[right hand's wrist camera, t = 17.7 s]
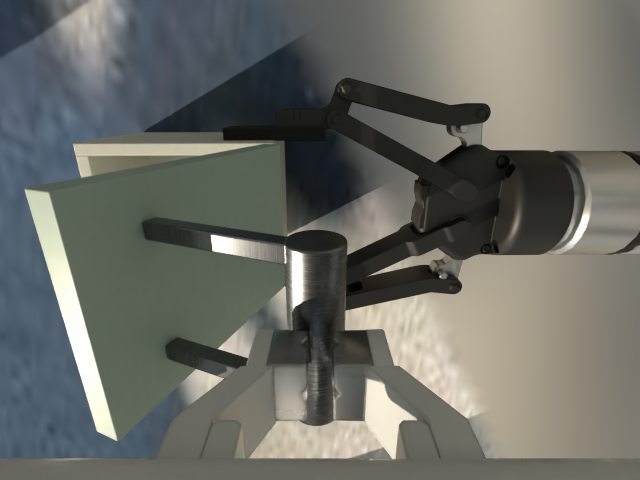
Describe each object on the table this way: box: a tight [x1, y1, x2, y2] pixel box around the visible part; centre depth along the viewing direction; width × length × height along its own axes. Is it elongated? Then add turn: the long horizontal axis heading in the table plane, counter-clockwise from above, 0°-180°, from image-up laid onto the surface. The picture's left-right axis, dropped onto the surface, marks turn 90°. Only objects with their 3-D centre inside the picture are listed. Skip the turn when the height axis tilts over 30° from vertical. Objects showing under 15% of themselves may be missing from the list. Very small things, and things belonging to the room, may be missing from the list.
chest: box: [73, 132, 288, 236], centre depth 27 cm, size 12×9×9 cm
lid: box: [25, 144, 347, 441], centre depth 16 cm, size 13×9×8 cm
